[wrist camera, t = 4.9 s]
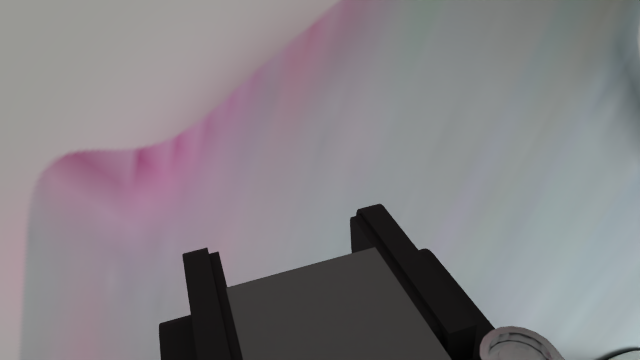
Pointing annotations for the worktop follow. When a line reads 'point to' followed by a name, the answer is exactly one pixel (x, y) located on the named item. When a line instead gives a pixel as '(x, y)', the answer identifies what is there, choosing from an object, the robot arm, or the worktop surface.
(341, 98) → the worktop surface
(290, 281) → the bolt
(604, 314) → the worktop surface
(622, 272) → the worktop surface
